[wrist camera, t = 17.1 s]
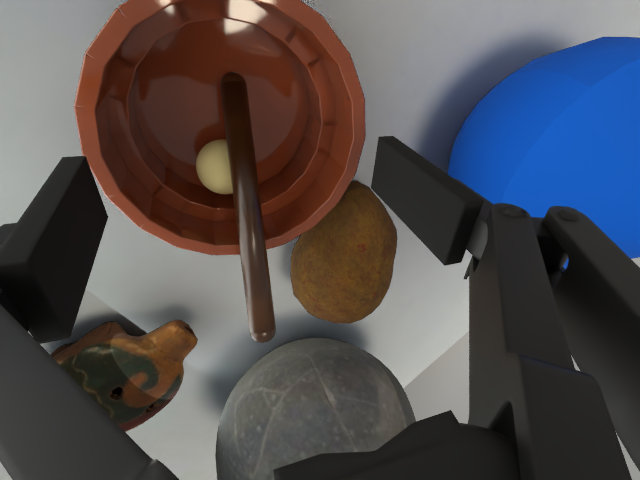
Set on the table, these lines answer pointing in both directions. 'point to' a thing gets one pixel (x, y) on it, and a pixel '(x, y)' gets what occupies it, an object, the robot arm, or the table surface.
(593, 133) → the vase
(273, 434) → the bowl
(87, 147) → the mixing bowl
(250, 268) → the stick
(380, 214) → the potato
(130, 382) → the ocarina
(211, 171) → the dough ball
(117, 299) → the table surface
